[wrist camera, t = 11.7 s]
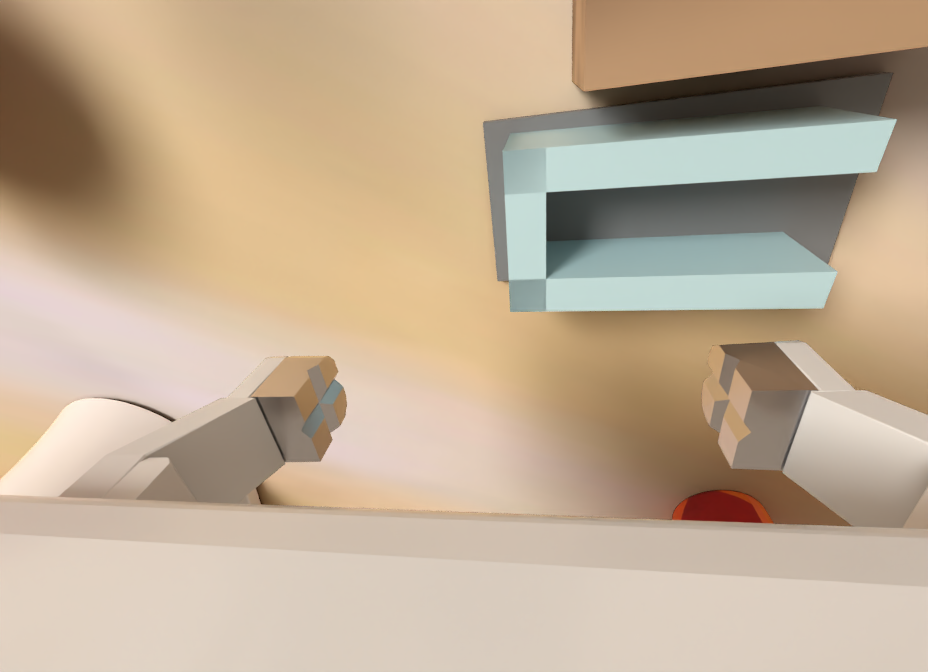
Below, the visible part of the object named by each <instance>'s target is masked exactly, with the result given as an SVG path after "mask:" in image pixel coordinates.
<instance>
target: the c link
mask: <svg viewBox="0 0 928 672" xmlns="http://www.w3.org/2000/svg"><path fill="white" fill-rule="evenodd" d="M896 121H897V119H892V118H886V117H880V116H875V115H869V114H863V113H857V112H852V111H846V110H840V109H834V108H829V107H823V106H816V107H805V108H793V109H782V110H770V111H759V112H748V113H736V114H725V115H714V116H702V117H691V118H680V119H668V120H657V121H646V122H634V123H623V124H612V125H600V126H589V127H578V128H566V129H555V130H543V131H532V132H521V133H511V134H510V136H509V138H508V140H507V142H506V145H505V147H504V149H503V151H502V152H503V173H504V193H505V213H506V233H507V254H508V274H509V294H510V312H542V311H632V310H722V309H813V308H824V305H825V303H826V300H827V298H828V295H829V293H830V290H831V287H832V285H833V282H834V280H835V277H836V275H837V271H836V270H835V269H833V268H832V267H830V266H829V265H828V264H826V263H825V262H824V261H822V260H821V259H819V258H818V257H817V256H815V255H814V254H813V253H811V252H810V251H809V250H807V249H806V248H804V247H803V246H802V245H800V244H799V243H798V242H796V241H795V240H793V239H792V238H791V237H789V236H788V235H787V234H785V233H784V232H763V233H739V234H714V235H690V236H665V237H641V238H617V239H592V240H568V241H546V192H559V191H575V190H592V189H608V188H624V187H640V186H656V185H673V184H689V183H705V182H721V181H737V180H754V179H770V178H786V177H802V176H818V175H835V174H851V173H867V172H877V169H878V167H879V164H880V162H881V159H882V157H883V154H884V152H885V149H886V146H887V144H888V141H889V139H890V136H891V134H892V131H893V128H894V126H895V123H896Z"/></svg>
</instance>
